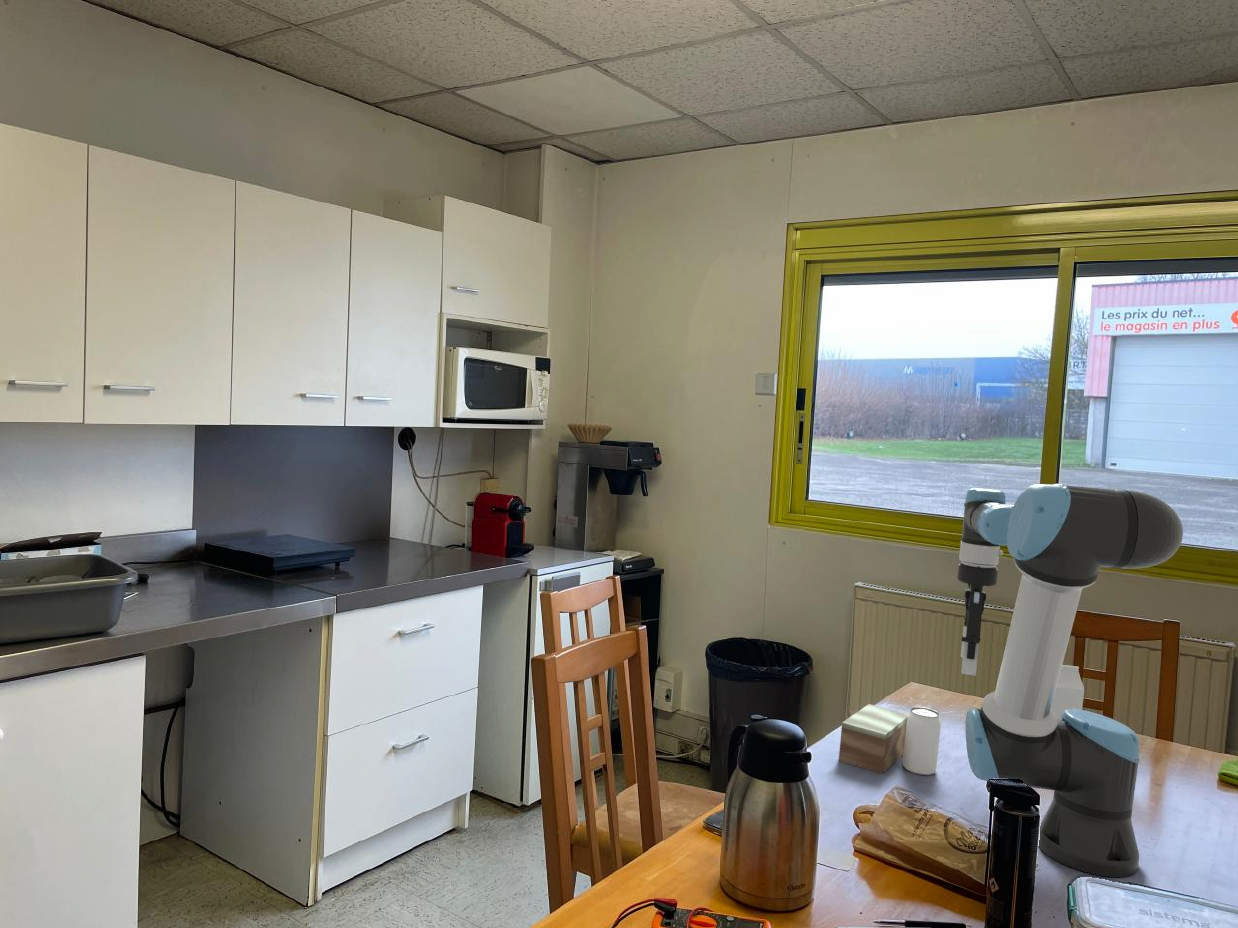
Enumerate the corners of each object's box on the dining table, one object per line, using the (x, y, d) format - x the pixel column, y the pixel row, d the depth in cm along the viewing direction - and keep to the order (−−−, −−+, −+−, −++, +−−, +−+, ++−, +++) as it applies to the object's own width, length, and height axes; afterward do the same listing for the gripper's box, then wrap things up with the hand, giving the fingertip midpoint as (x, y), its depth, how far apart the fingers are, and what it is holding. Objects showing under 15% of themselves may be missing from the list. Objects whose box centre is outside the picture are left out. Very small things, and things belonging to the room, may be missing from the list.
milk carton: (1076, 756, 197) (1086, 671, 195) (1044, 753, 197) (1053, 668, 195) (1061, 743, 204) (1071, 661, 202) (1030, 741, 204) (1039, 659, 203)
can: (931, 764, 185) (937, 708, 185) (939, 777, 179) (945, 718, 178) (899, 761, 186) (905, 704, 185) (906, 773, 180) (912, 715, 179)
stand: (881, 773, 179) (885, 734, 178) (838, 760, 184) (842, 722, 183) (906, 751, 192) (910, 714, 191) (865, 739, 197) (868, 703, 196)
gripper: (1001, 575, 171) (989, 684, 172) (995, 558, 194) (985, 654, 196) (959, 570, 174) (948, 678, 175) (958, 553, 197) (948, 648, 198)
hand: (967, 665), depth 185 cm, fingers open, 13 cm apart
